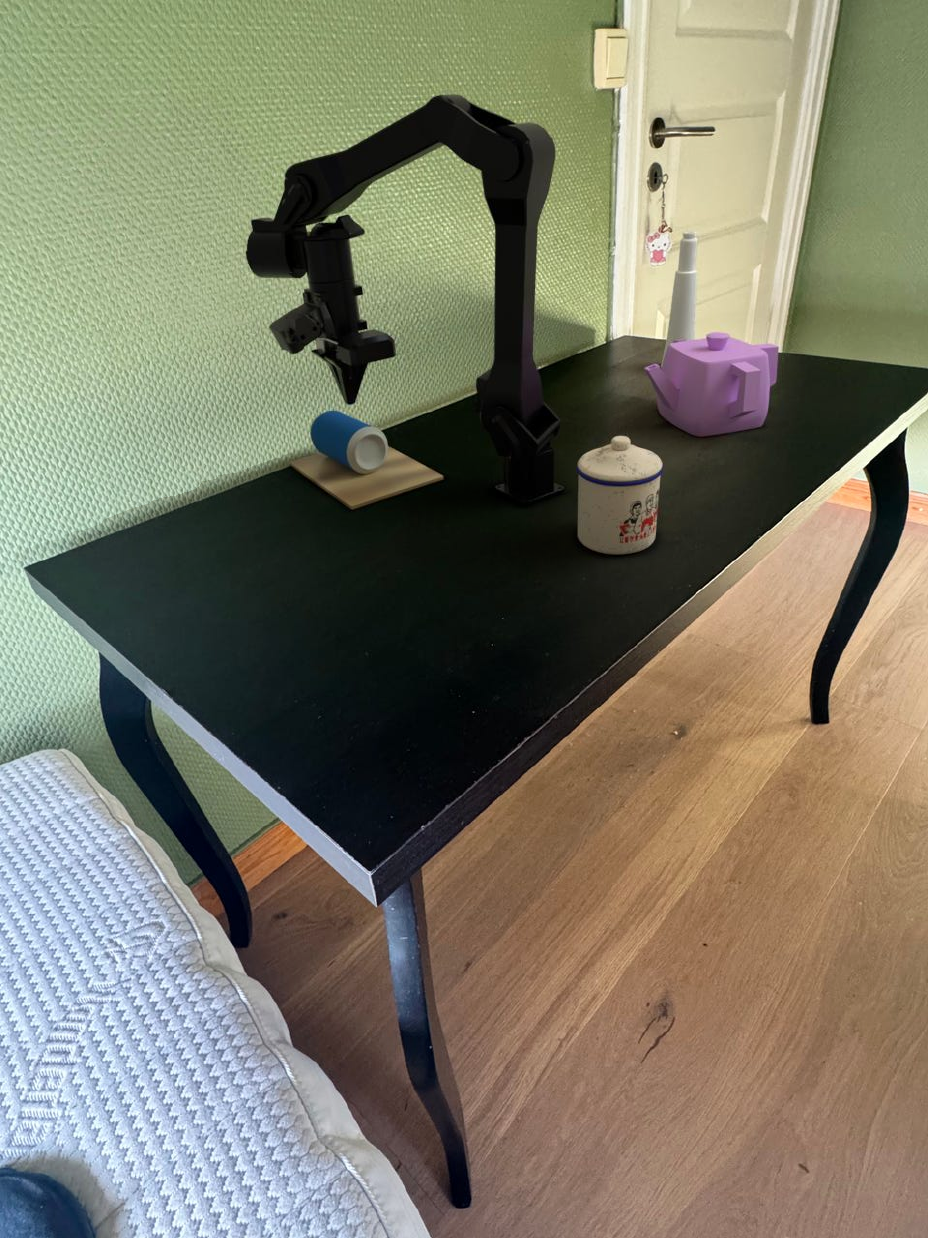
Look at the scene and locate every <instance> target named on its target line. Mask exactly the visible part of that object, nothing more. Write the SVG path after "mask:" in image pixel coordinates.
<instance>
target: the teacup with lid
mask: <svg viewBox="0 0 928 1238" xmlns="http://www.w3.org/2000/svg"><path fill="white" fill-rule="evenodd" d="M576 472H577V474H578V488H577V491H578V493H577V538H578V540H579V542H580V543H581V544H582V545H583V546H584V547H586V548H587V549H589V550H592V551H594V552H597V553H599V554H600V553H601V554H605V555H617V556H618V555H630V554H635V553H638V552H641V551H644V550H645V549H648V548H649V547H650V546H652V544H653V543H654V541H655V540H656V535H657V534H656V533H657V524H658V523H657V522H658V511H659V498H660V485H661V476H662V474H663V473H664V464H663V461H662V459H661V458H660V456H659V455H657V454H656V453H655V452H653V451H651V450H649V449H646V448H642V447H638V446H636V445H635V444H631V439H630V438H629V437H628V436H625V435H616V436H614V437H613V438H611V441H610V444H606V445H604V446H602V447H598V448H594V449H592V450H591V449H590V451H587V452H585V453H584V454H583V455H582V456H580V458H579V460H578V461H577V464H576Z"/></svg>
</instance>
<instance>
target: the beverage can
mask: <svg viewBox="0 0 928 1238" xmlns="http://www.w3.org/2000/svg"><path fill="white" fill-rule="evenodd" d="M309 432H310V433H309V435H310V440H311V442H312V444H313V446H314V448H315V449H316V450H317V451H318V452H319V453H322V454H324V455H326V456H328V457H330V458H332V459H334V460H335V461H337V462H339V463H341V464H343V465H345V466H347V467H349V468H351V469H352V470H354V471H356V472H358V473H362V474H368V473H372V472H374V471H376V470H377V469H378V468H379V467H380V466H381V465H382V464H383V462H384V461H385V458H386V456H387V451H388V446H389V444H388V439H387V437H386V435H385V434H384V432H383V431H382V430H381V429H380V428H377V427H375V426H374V425H371V424H368V423H367V422H364V421H361V420H360V419H357V418H355V417H352V416H350V415H348V414H345V413H344V412H341V411H339V410H328V411H324V412H321V413H320V414H318V415H317V416H316V417H315V418H314V419H313V421H312V423H311V425H310V430H309Z"/></svg>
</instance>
